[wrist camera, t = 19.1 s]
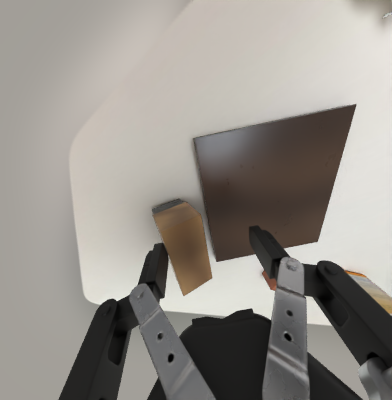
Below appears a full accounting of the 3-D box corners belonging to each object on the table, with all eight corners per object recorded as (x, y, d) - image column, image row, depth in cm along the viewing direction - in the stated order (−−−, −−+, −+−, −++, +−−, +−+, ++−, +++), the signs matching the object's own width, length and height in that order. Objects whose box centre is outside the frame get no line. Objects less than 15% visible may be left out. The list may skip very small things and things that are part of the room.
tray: (193, 138, 15) (194, 138, 14) (344, 105, 14) (356, 104, 13) (214, 255, 23) (216, 262, 22) (311, 236, 23) (317, 241, 22)
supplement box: (319, 283, 29) (410, 386, 17) (336, 267, 27) (452, 372, 15) (346, 288, 31) (446, 385, 19) (364, 274, 29) (488, 372, 17)
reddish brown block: (273, 276, 27) (261, 273, 26) (284, 266, 26) (271, 262, 25) (284, 293, 24) (270, 289, 23) (296, 282, 23) (282, 278, 22)
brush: (169, 262, 21) (183, 296, 16) (148, 207, 16) (160, 232, 12) (193, 250, 22) (212, 278, 17) (180, 196, 18) (201, 214, 13)
